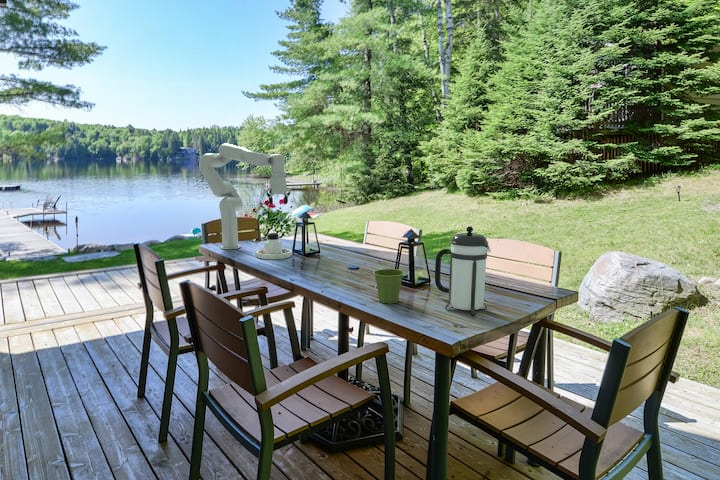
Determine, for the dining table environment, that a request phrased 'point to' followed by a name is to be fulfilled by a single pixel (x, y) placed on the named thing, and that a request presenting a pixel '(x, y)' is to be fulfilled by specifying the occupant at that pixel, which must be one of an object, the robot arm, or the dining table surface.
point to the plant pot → (388, 284)
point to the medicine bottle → (273, 244)
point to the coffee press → (465, 271)
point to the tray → (285, 254)
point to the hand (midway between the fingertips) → (278, 203)
